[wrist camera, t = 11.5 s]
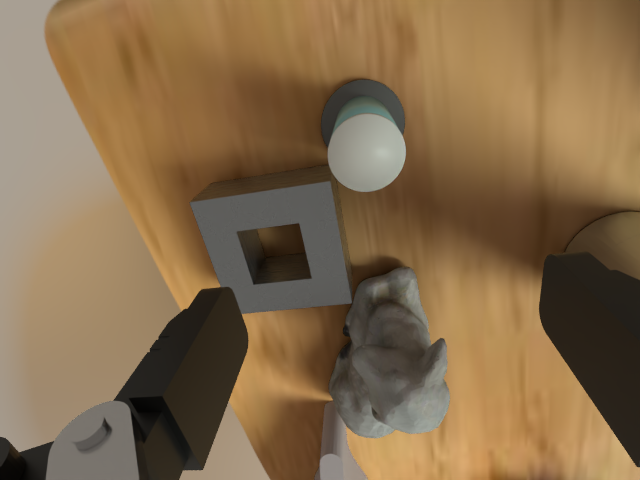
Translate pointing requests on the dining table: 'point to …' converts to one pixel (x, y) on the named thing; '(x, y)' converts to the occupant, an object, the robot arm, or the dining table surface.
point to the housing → (268, 211)
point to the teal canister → (366, 145)
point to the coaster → (357, 90)
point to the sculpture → (389, 361)
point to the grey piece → (336, 450)
